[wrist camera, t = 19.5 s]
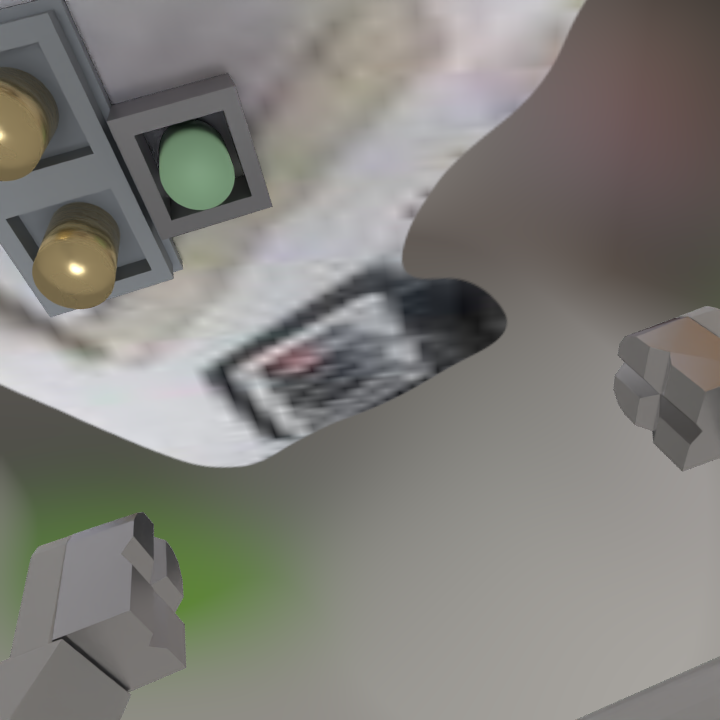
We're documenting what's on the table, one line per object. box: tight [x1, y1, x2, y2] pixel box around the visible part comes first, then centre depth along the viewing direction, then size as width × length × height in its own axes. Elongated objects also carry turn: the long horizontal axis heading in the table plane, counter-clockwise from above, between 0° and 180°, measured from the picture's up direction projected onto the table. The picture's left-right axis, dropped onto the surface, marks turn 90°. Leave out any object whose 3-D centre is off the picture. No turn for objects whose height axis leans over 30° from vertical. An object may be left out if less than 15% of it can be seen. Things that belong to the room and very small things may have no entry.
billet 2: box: [32, 202, 120, 309], centre depth 32 cm, size 4×4×6 cm
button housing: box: [107, 73, 273, 240], centre depth 33 cm, size 7×7×4 cm
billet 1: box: [0, 67, 59, 181], centre depth 27 cm, size 4×4×6 cm
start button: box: [159, 119, 235, 210], centre depth 32 cm, size 4×4×4 cm
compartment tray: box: [0, 0, 183, 317], centre depth 32 cm, size 16×9×3 cm, turn 11°
